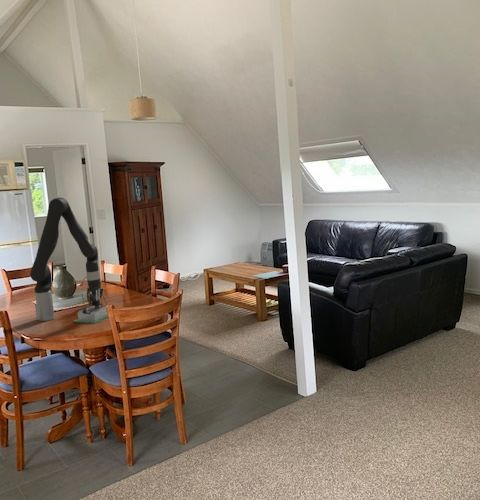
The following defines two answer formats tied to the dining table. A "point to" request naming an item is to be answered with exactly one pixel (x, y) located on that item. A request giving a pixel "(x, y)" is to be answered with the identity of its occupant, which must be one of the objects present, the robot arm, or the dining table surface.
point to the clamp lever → (93, 309)
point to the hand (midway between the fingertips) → (97, 306)
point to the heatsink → (91, 315)
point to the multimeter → (91, 302)
